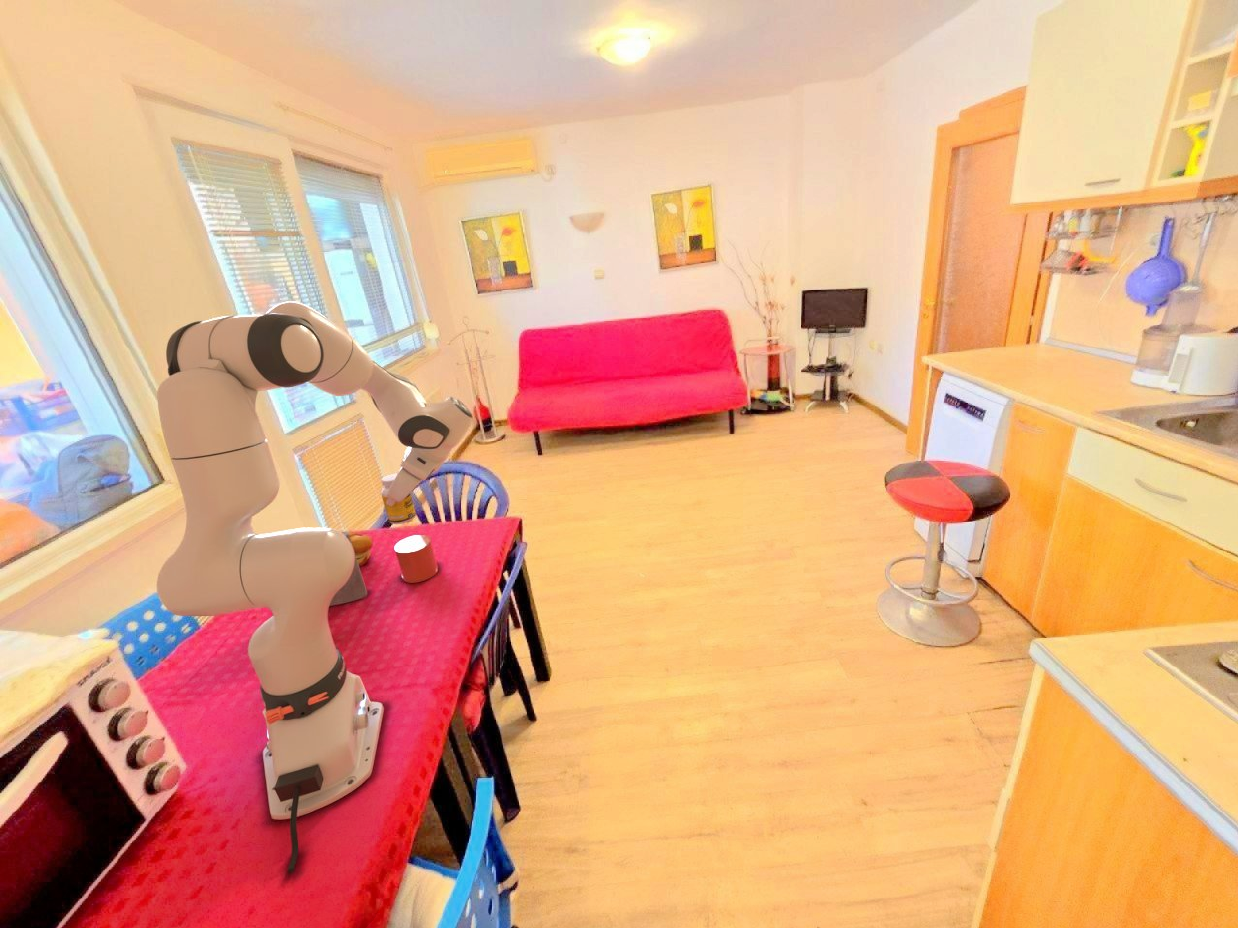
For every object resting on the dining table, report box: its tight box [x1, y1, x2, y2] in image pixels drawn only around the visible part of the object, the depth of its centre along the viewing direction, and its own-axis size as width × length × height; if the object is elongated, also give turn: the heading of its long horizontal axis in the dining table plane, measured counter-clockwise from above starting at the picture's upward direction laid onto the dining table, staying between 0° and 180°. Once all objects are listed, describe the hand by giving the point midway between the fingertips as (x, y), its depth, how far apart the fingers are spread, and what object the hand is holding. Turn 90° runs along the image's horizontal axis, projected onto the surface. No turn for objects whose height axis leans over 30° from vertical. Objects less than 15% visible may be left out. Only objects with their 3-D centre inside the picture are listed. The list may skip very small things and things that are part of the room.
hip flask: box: [329, 531, 368, 607], centre depth 122 cm, size 16×4×20 cm, turn 102°
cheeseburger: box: [347, 531, 374, 568], centre depth 142 cm, size 10×11×10 cm
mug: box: [394, 534, 439, 584], centre depth 134 cm, size 12×9×9 cm
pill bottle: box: [380, 473, 417, 525], centre depth 126 cm, size 6×6×12 cm
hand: (394, 496), depth 125 cm, fingers closed on pill bottle, 6 cm apart
